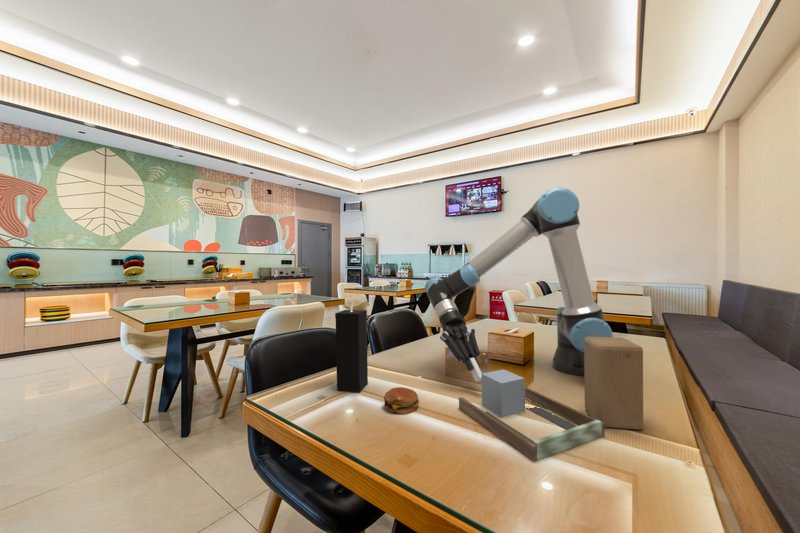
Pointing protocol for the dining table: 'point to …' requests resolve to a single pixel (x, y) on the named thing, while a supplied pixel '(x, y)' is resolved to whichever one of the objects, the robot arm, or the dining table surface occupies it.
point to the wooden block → (614, 381)
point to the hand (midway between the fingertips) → (479, 379)
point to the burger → (401, 400)
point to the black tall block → (351, 349)
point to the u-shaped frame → (546, 445)
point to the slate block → (503, 392)
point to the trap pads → (546, 415)
